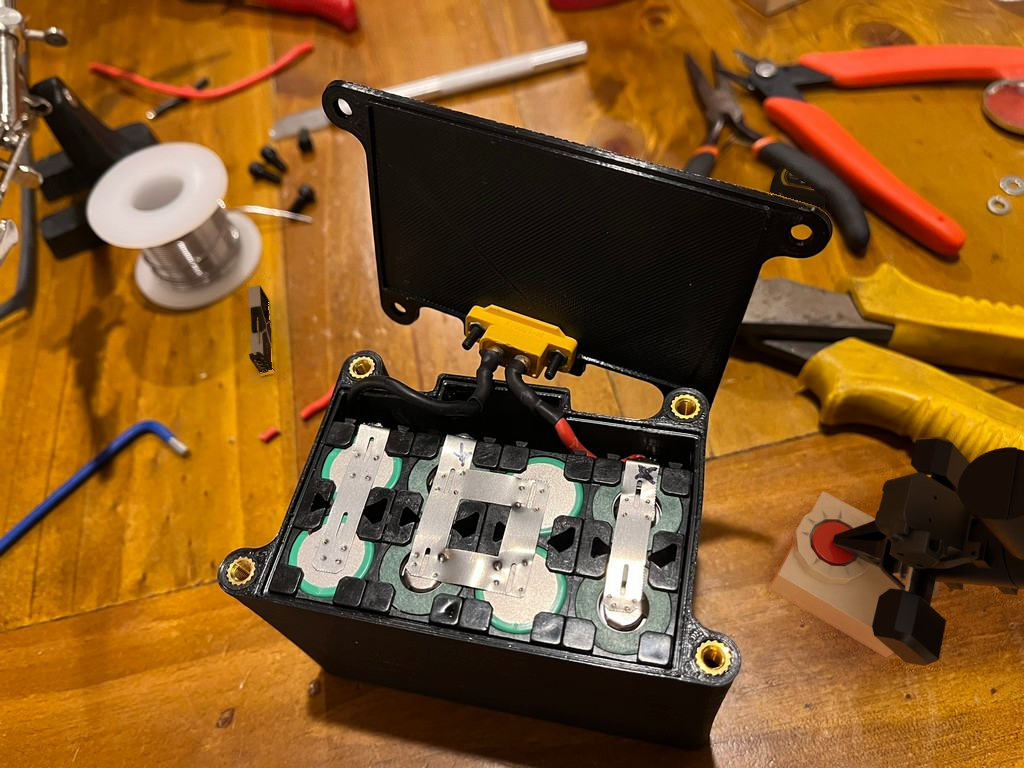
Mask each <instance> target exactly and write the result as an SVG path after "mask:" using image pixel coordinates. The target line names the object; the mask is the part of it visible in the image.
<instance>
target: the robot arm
mask: <svg viewBox="0 0 1024 768" xmlns="http://www.w3.org/2000/svg"><path fill="white" fill-rule="evenodd" d="M910 466H911V467H912V468H913V469H915V471H916V472H914V473H909V474H906V475H905V474H904V475H902V476H898V477H894V478H891V479H888V480H886V481H885V482H884V483H883V486H882V488H881V491H882V496H881V500H880V504H879V508H878V510H877V511H876V513H875V516H874V518H875V520H874V521H871V522H869V523H866V524H863V525H861V526H858V527H855V528H852V529H849V530H847V531H844V532H841V533H838V534H835V535H834V538H833V542H832V543H833V544H834V545H835V546H836V547H838V548H839V549H841V550H844V551H846V552H848V553H850V554H852V555H854V556H856V557H858V558H860V559H862V560H864V561H867V562H869V563H871V564H873V565H875V566H877V567H879V568H880V569H881V571H882V572H883V573H884V574H885V575H886V576H887V577H888V578H889V579H890V580H892V581H893V582H894V583H895V584H896V585H897V586H898V587H899V588H900V589H892V588H890V589H889V590H887V591H886V592H884V593H883V594H881V595H880V596H879V598H878V602H877V607H876V611H875V615H874V619H873V623H872V629H873V634H874V636H875V637H876V638H877V639H878V640H880V641H881V642H882V643H883V644H884V645H886V646H887V647H888V648H889V649H890V650H892V651H893V652H894V653H893V654H895V656H897V657H899V658H900V659H901V660H902V661H903V662H904V663H907V664H912V665H918V666H923V667H926V666H928V665H931V664H932V663H936V662H937V661H939V660H940V655H941V651H942V646H943V641H944V637H945V631H946V626H947V619H945V618H944V616H942V615H941V614H940V613H939V612H938V611H937V610H936V609H935V608H934V607H933V606H932V600H933V598H938V593H939V590H940V589H939V587H940V585H941V584H940V583H943V584H944V585H945V586H946V587H947V588H948V589H950V590H957V591H963V590H964V586H965V585H972V586H982V587H994V588H997V589H998V591H1000V593H1001V594H1003V595H1010V596H1018V593H1019V590H1024V449H1020V448H1018V447H1017V446H1005V447H1000V448H995V449H991V450H989V451H986V452H984V453H982V454H980V455H978V456H976V457H975V458H974V459H973V460H972V461H971V462H970V461H969V460H968V459H967V457H966V456H965V455H964V453H962V452H961V450H960V449H958V447H957V446H956V445H955V444H954V443H953V442H952V441H951V440H950V439H948V438H944V437H941V436H926V437H919V438H917V439H915V444H914V446H913V452H912V457H911V460H910Z"/></svg>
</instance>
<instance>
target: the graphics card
mask: <svg viewBox="0 0 1024 768" xmlns="http://www.w3.org/2000/svg"><path fill="white" fill-rule="evenodd" d="M268 302H270V299H269V297H268V295H267V294H266V292H265V291H264V289H263V287H262V285H260V284H259V285H254V286H250V287H248V307H249V310H250V324H251V325H250V328H251V329H250V330H251V334H250V353H248V356H249V360H250V361H251V362H252V364H253V366H254V367H255V368H256V370H257V371H258V372H259V373H260V372H262V371H264V370H266V371H268V370H272V369H273V368H272V362H271V333H272V327H271V328H270V323H271V321H270V320H269V310H268V306H269V305H268V304H269V303H268ZM273 370H274V371H275V369H273ZM266 371H264V372H266Z"/></svg>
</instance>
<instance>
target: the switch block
mask: <svg viewBox="0 0 1024 768" xmlns="http://www.w3.org/2000/svg"><path fill="white" fill-rule="evenodd" d="M874 520H875V517H873V516H871V515H870V514H868V513H866V512H863V511H862V510H861V509H858V508H857V507H854V506H852V505H851V504H848V503H846V501H845V502H844V501H843V500H841V499H839V498H837V497H836V496H833V495H832V494H829V493H827V492H826V491H821V492H820V494H819V496H818V497H817V499H816V500H815V502H814V504H813V505H812V506H811V508H810V509H809V511H808V513H807V514H805V515H803V517H802V519H801V520H800V522H799V524H798V526H797V527H796V529H795V531H794V533H793V535H792V544H791V545H790V547H789V549H788V550H787V552H786V555H785V557H784V558H783V560H782V562H781V564H780V566H779V568H778V570H777V571H776V573H775V575H774V576H773V579H772V580H771V582H770V584H769V586H768V590H770V591H771V592H773V593H774V594H777V595H778V596H780V597H781V598H783V599H785V600H787V601H788V602H790V603H792V604H794V606H797V607H799V608H800V609H802V610H804V611H805V612H807V613H809V614H811V615H813V616H814V617H816V618H818V619H819V620H821V621H822V622H824V623H826V624H828V625H829V626H831V627H833V628H834V629H836V630H837V631H839V632H841V633H843V634H845V635H847V636H848V637H850V638H852V639H853V640H855V641H857V642H858V643H860V644H862V645H864V646H865V647H867V648H869V649H870V650H872V651H874V652H876V653H877V654H879V655H880V656H882V657H884V658H888V657H890V656H891V655H893V654H895V653H894V652H893V651H892V650H890V649H889V648H888V647H887V646H886V645H884V644H883V643H882V642H881V641H880V640H878V639H877V638H876V637H875V636H874V634H873V629H872V623H873V619H874V615H875V611H876V607H877V602H878V598H879V596H880V595H881V594H883V593H884V592H886V591H887V590H889V589H890V588H892V589H900V588H899V587H898V586H897V585H896V584H895V583H894V582H893V581H892V580H890V579H889V578H888V577H887V576H886V575H885V574H884V573H883V572H882V571H881V569H880V568H879V567H877V566H875V565H873V564H871V563H869V562H867V561H864V560H862V559H860V558H858V557H856V556H854V557H853V559H852V560H851V561H850V562H849V563H848V564H847V565H845V566H831V565H829V564H827V563H825V562H824V561H822V560H820V559H819V558H818V557H817V555H816V554H815V552H814V551H813V550H812V548H811V544H810V538H811V536H812V534H813V533H814V531H815V530H816V529H817V528H818V527H819V526H820V525H822V524H824V523H827V522H837V523H840V524H843V525H845V526H846V527H848V528H849V529H852V528H855V527H858V526H861V525H863V524H866V523H869V522H871V521H874Z"/></svg>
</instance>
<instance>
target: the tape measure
mask: <svg viewBox="0 0 1024 768" xmlns="http://www.w3.org/2000/svg"><path fill="white" fill-rule="evenodd" d="M770 192H771V193H774V194H777V195H781V196H784V197H787V198H791V199H794V200H798V201H801V202H805V203H808V204H812V205H815V206H817V207H820V208H821V209H823V208H825V209H823V210H824V211H825V210H826V204H825V202H826V201H827V198H826V199H825V197H823V196H822V195H820V194H819V193H817V192H816V191H815V190H814V189H812V188H811V187H810V186H808V185H807V184H805V182H803V181H801V180H799V179H798V178H797V177H796V176H794V175H792V174H791V173H790V172H789V171H787V170H786V169H785V168H783V167H782V166H781V167H779V168H778V169H777V170H776V171H775V173H774V175H773V177H772V179H771V182H770V187H769V193H770Z"/></svg>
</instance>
